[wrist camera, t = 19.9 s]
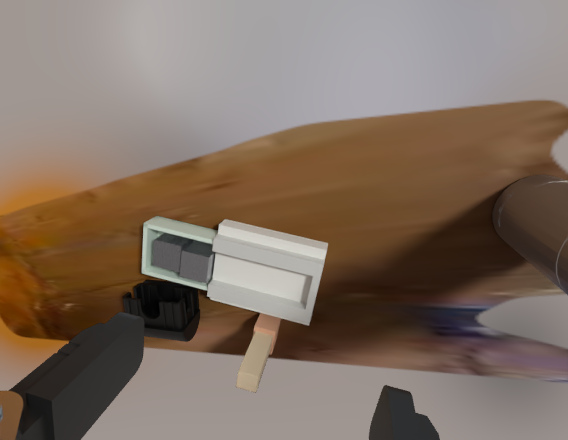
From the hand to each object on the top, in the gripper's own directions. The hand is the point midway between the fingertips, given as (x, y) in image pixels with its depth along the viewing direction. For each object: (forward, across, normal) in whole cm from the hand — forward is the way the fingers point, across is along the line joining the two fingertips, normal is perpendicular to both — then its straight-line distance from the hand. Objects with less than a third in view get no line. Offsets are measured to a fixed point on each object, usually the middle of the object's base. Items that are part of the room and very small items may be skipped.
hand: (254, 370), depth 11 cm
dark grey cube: (+33, +17, +15) cm, 40 cm away
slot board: (+36, +6, +15) cm, 39 cm away
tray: (+36, +18, +15) cm, 43 cm away
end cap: (+36, +20, +25) cm, 48 cm away
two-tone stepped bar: (+36, +4, +25) cm, 44 cm away
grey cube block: (+35, +15, +15) cm, 41 cm away
